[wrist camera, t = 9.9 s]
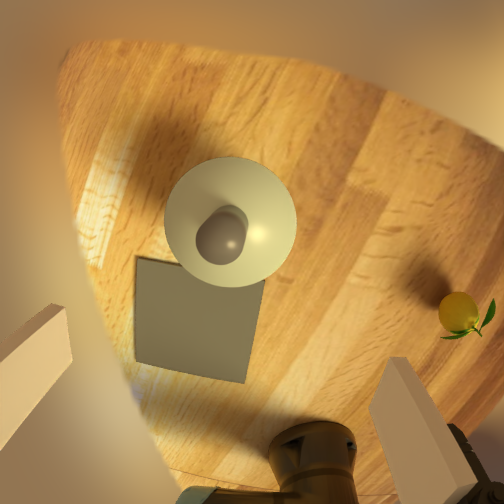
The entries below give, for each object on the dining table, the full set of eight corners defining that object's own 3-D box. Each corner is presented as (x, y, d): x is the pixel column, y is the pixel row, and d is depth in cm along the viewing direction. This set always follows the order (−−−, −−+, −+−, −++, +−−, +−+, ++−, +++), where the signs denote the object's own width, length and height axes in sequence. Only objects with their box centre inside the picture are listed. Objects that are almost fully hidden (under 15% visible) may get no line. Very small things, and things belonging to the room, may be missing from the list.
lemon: (468, 279, 38) (507, 308, 29) (460, 316, 40) (495, 350, 30) (430, 282, 39) (467, 315, 29) (424, 321, 40) (455, 359, 31)
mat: (244, 381, 44) (244, 383, 44) (137, 359, 44) (136, 361, 43) (264, 280, 39) (265, 281, 39) (138, 257, 39) (137, 258, 39)
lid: (283, 291, 32) (287, 327, 25) (163, 273, 32) (138, 302, 25) (305, 167, 28) (317, 170, 21) (174, 150, 28) (147, 149, 21)
